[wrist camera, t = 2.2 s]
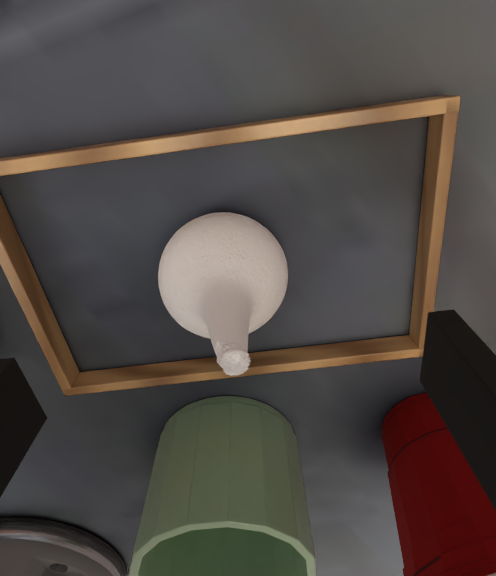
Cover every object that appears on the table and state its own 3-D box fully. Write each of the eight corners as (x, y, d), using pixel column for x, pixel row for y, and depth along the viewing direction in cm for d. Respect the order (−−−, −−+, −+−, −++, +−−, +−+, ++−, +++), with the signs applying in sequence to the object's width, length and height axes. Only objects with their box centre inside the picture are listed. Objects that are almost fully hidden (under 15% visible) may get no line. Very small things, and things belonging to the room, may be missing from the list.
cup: (176, 494, 29) (155, 625, 22) (144, 403, 24) (105, 532, 17) (300, 482, 29) (319, 611, 21) (291, 388, 24) (311, 513, 17)
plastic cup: (336, 373, 23) (413, 608, 13) (514, 348, 23) (751, 577, 12) (343, 481, 29) (403, 713, 18) (489, 464, 28) (641, 695, 17)
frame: (73, 380, 23) (64, 396, 22) (-27, 161, 17) (-48, 167, 16) (418, 341, 22) (428, 356, 21) (444, 95, 16) (461, 95, 15)
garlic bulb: (155, 208, 18) (102, 285, 11) (284, 201, 18) (311, 273, 11) (174, 317, 21) (141, 431, 14) (284, 311, 21) (306, 423, 14)
